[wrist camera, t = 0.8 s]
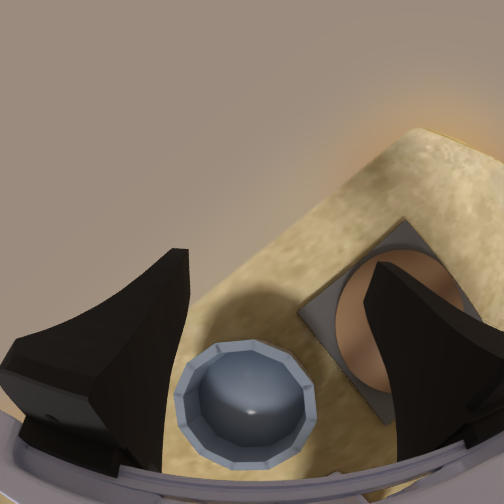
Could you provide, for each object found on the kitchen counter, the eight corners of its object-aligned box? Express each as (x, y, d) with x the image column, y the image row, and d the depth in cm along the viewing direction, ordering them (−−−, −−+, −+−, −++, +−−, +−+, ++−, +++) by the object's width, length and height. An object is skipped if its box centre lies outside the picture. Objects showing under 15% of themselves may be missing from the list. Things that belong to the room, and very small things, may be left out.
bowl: (337, 409, 22) (344, 422, 18) (239, 468, 22) (228, 488, 18) (264, 316, 26) (257, 311, 22) (172, 380, 25) (151, 386, 21)
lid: (479, 324, 21) (506, 319, 17) (388, 419, 21) (404, 434, 16) (405, 225, 25) (423, 205, 21) (304, 313, 25) (306, 307, 20)
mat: (481, 324, 22) (484, 324, 21) (384, 424, 21) (386, 426, 20) (403, 221, 26) (405, 219, 26) (297, 312, 26) (297, 312, 25)
